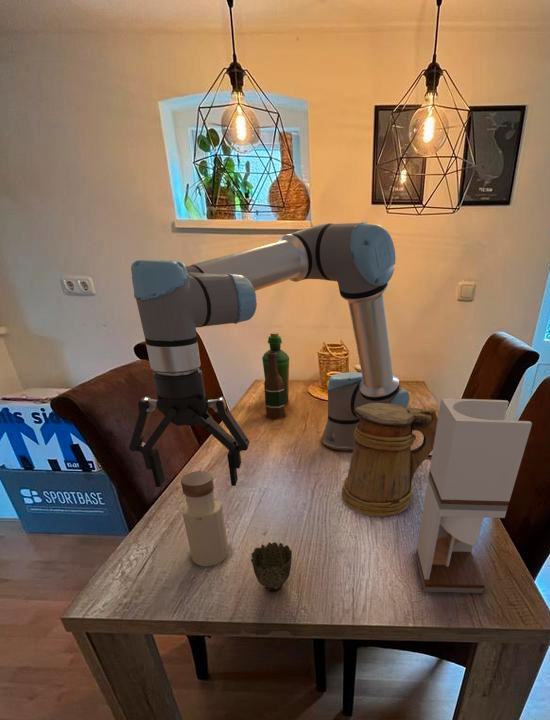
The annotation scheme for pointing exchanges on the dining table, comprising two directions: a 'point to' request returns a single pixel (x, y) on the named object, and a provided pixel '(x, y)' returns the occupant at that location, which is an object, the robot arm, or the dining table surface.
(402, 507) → the tankard
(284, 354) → the bottle
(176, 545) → the dining table surface
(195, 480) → the cork
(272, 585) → the cup
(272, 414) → the beer bottle
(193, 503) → the bottle
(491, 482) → the white pedestal holder
